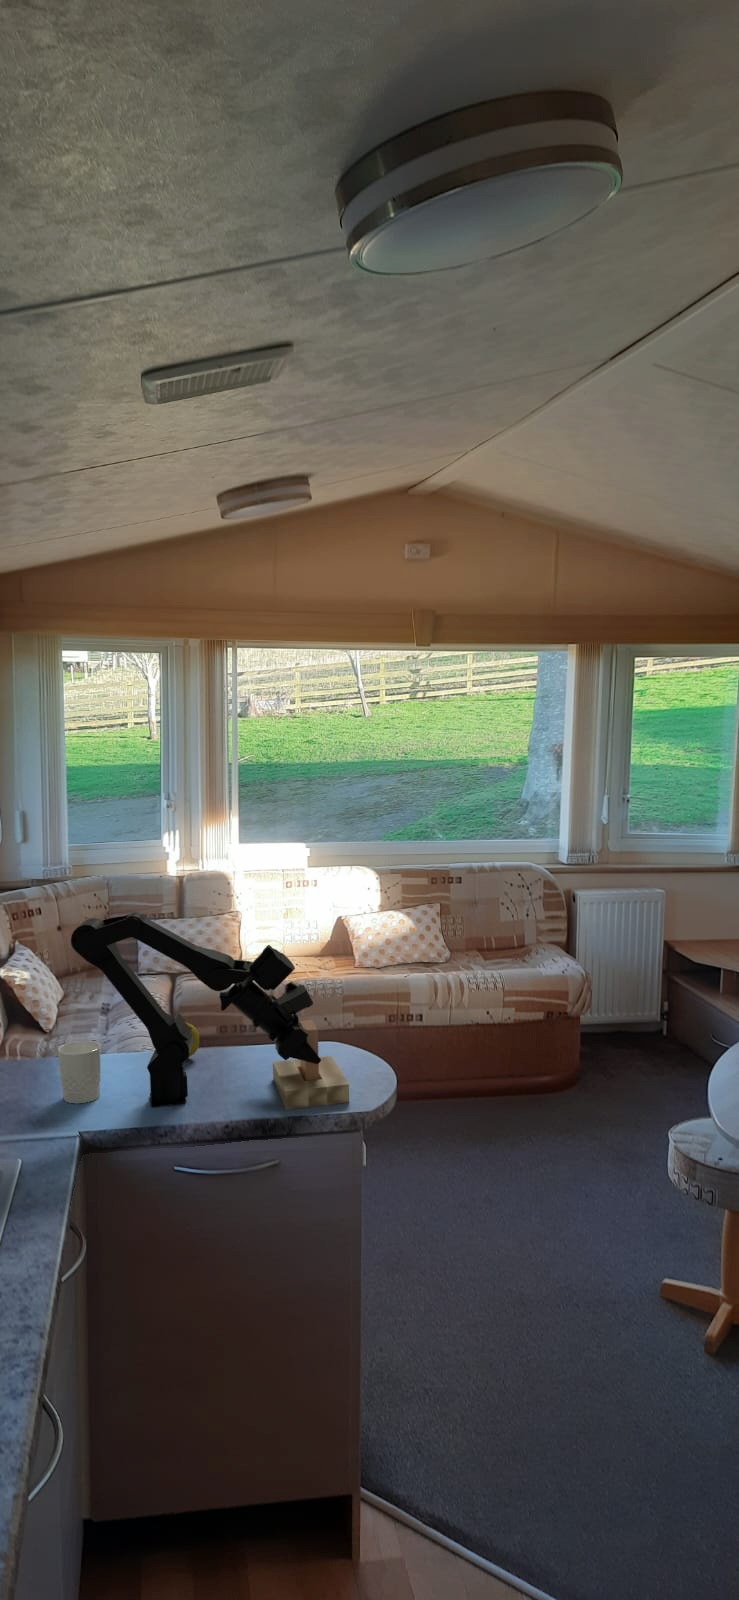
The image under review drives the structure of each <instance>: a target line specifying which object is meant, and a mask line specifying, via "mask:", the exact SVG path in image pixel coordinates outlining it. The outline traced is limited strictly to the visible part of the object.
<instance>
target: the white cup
mask: <svg viewBox="0 0 739 1600" xmlns="http://www.w3.org/2000/svg"><path fill="white" fill-rule="evenodd" d="M101 1046H102V1045H101V1043H99V1042H97V1041H94V1040H77V1041H76V1040H75V1041H71V1042H67V1043H65V1044H62V1045H61V1046H58V1048H57V1055H58V1063H59V1064H58V1065H59V1074H60V1082H61V1087H62V1096H63V1100H65V1101H67V1102H69V1103H68V1104H70V1103H84V1104H87V1103H86V1102H88V1103H90V1101H92V1102H94V1101H95V1099H96V1100H98V1098H99V1097H100V1096H101V1091H100V1090H101V1087H100V1086H101V1085H100V1083H101V1073H102V1072H101V1069H102V1068H101V1064H102V1061H101V1054H102V1053H101V1048H102V1047H101ZM93 1100H94V1101H93ZM65 1101H64V1102H65ZM67 1102H66V1103H67Z"/></svg>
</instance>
